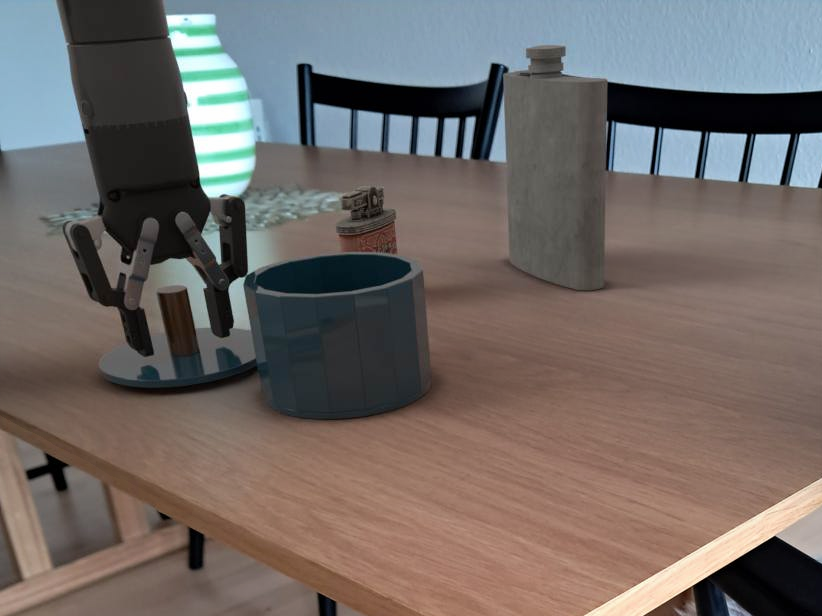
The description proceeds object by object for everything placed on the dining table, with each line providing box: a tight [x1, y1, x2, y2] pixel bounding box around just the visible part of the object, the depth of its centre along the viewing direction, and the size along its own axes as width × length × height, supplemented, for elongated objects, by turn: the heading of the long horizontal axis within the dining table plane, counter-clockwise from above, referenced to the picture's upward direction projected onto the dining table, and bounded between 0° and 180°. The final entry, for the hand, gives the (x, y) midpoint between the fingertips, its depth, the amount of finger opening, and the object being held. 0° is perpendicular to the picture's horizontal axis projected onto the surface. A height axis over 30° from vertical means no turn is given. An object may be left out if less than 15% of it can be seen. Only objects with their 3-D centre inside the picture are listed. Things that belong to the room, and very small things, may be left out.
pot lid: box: [98, 284, 257, 389], centre depth 81 cm, size 14×14×6 cm
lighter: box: [334, 185, 399, 255], centre depth 95 cm, size 8×3×10 cm, turn 154°
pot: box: [242, 252, 432, 420], centre depth 74 cm, size 13×13×8 cm
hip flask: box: [502, 44, 608, 292], centre depth 97 cm, size 16×4×20 cm, turn 26°
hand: (183, 344), depth 82 cm, fingers open, 6 cm apart
